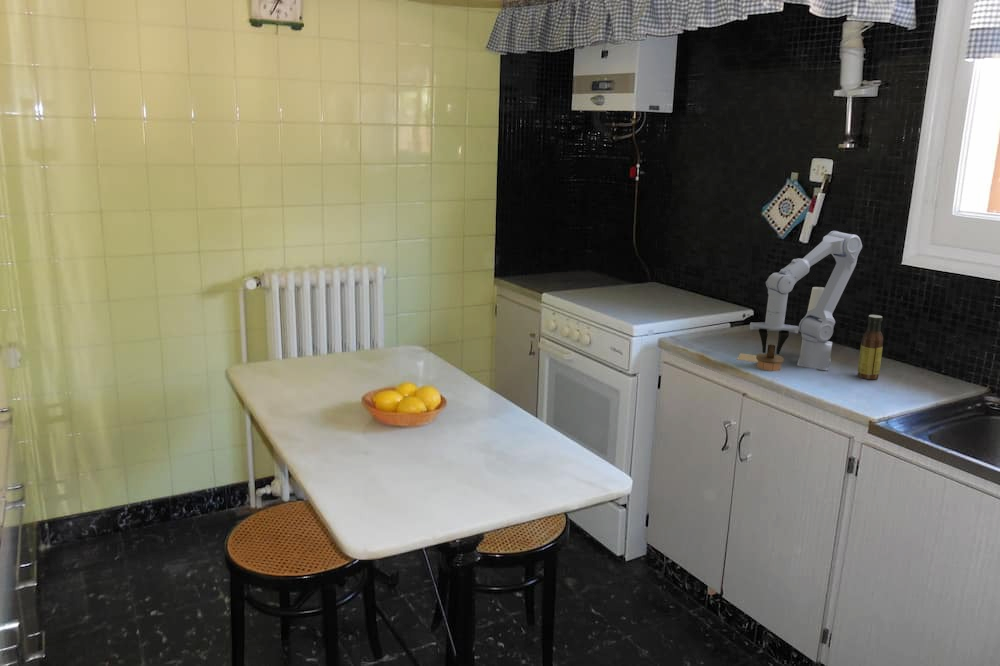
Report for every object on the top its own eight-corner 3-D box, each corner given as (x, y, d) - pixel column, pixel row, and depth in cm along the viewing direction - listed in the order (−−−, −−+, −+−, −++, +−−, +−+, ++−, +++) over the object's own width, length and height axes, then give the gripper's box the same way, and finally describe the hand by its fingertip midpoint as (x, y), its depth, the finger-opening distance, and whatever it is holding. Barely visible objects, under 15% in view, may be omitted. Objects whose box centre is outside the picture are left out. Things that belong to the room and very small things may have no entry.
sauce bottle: (874, 374, 253) (884, 314, 248) (881, 381, 247) (891, 319, 242) (853, 373, 254) (862, 312, 249) (859, 379, 248) (869, 317, 243)
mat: (767, 358, 267) (768, 357, 267) (765, 364, 260) (765, 363, 260) (740, 354, 270) (740, 353, 270) (736, 360, 263) (737, 359, 263)
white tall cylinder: (827, 360, 266) (835, 289, 261) (810, 361, 264) (818, 289, 259) (813, 355, 272) (821, 286, 267) (797, 356, 270) (804, 286, 265)
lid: (781, 357, 258) (783, 342, 257) (785, 364, 250) (787, 350, 249) (754, 355, 260) (756, 340, 258) (758, 362, 252) (760, 347, 250)
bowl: (781, 367, 257) (782, 358, 257) (779, 373, 251) (780, 364, 250) (758, 364, 260) (759, 355, 259) (756, 370, 254) (757, 361, 253)
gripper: (798, 310, 253) (792, 351, 257) (750, 306, 256) (746, 347, 259) (801, 315, 246) (796, 357, 250) (753, 311, 249) (748, 353, 253)
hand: (770, 352), depth 254 cm, fingers open, 4 cm apart
